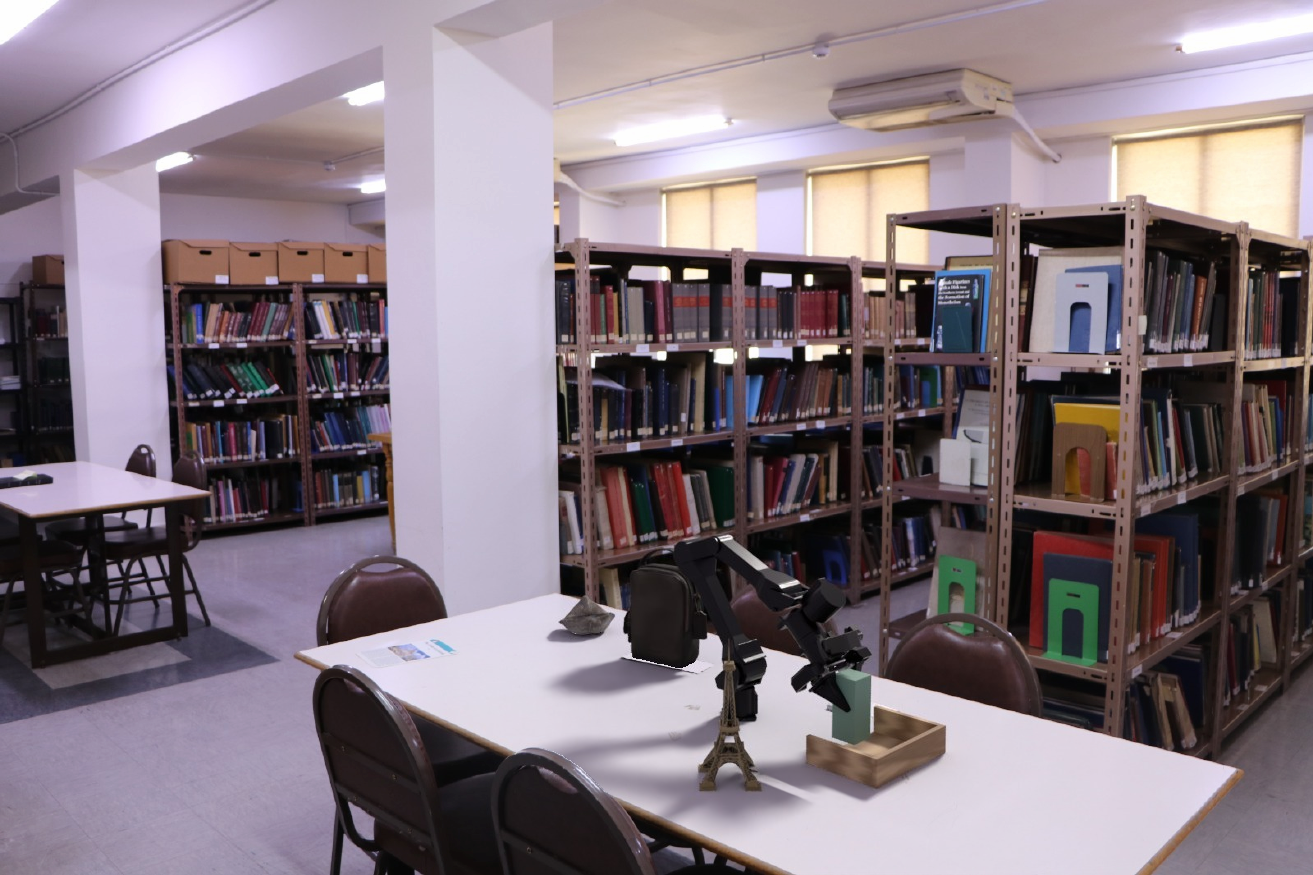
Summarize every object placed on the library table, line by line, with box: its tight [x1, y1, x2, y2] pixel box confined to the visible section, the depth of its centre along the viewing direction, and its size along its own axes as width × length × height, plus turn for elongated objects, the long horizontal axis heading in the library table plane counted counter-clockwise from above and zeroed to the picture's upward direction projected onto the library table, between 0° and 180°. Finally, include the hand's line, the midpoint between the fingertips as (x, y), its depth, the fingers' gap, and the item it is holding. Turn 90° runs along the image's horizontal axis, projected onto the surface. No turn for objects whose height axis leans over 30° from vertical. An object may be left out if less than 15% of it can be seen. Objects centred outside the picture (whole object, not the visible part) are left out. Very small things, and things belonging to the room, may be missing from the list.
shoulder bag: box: [622, 546, 708, 668], centre depth 242 cm, size 23×9×28 cm, turn 57°
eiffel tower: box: [698, 650, 763, 792], centre depth 174 cm, size 11×11×25 cm
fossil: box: [558, 595, 616, 635], centre depth 269 cm, size 15×14×10 cm
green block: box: [831, 669, 872, 745], centre depth 185 cm, size 5×5×12 cm
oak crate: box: [805, 705, 947, 789], centre depth 181 cm, size 15×22×6 cm
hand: (857, 707), depth 184 cm, fingers closed on green block, 5 cm apart
